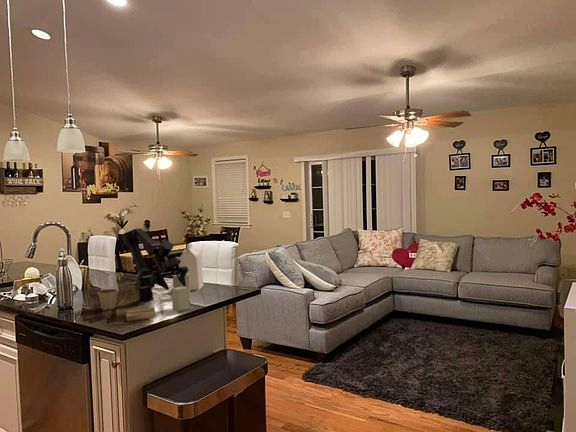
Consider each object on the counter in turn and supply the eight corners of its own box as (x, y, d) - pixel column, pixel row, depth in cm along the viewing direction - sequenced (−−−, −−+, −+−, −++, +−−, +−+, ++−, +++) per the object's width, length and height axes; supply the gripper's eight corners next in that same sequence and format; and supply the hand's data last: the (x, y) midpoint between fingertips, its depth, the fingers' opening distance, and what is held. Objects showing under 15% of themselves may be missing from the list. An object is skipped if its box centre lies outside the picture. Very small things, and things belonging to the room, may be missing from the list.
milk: (199, 289, 250) (196, 244, 249) (179, 290, 250) (176, 245, 249) (203, 285, 262) (201, 242, 261) (184, 286, 262) (182, 243, 261)
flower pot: (121, 305, 217) (120, 288, 217) (115, 310, 208) (114, 292, 208) (102, 306, 217) (101, 289, 217) (95, 311, 208) (94, 293, 207)
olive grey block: (186, 297, 230) (185, 275, 229) (170, 297, 232) (169, 275, 231) (193, 293, 239) (192, 272, 238) (178, 293, 241) (177, 272, 240)
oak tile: (126, 315, 199) (126, 310, 198) (154, 312, 203) (153, 307, 203) (126, 322, 187) (126, 316, 187) (155, 318, 191) (155, 312, 191)
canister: (172, 309, 204) (171, 288, 204) (182, 307, 208) (181, 286, 208) (179, 311, 201) (178, 289, 200) (189, 308, 205) (188, 287, 204)
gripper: (151, 254, 202) (165, 280, 195) (185, 250, 216) (199, 273, 209) (143, 270, 208) (157, 295, 201) (177, 264, 222) (191, 288, 214)
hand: (176, 287), depth 206 cm, fingers open, 9 cm apart
